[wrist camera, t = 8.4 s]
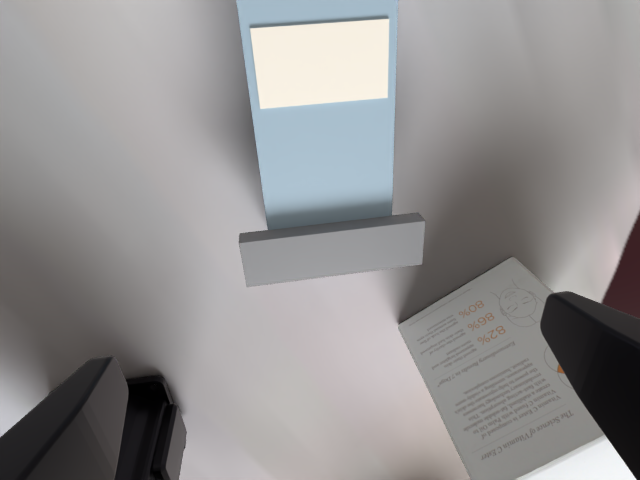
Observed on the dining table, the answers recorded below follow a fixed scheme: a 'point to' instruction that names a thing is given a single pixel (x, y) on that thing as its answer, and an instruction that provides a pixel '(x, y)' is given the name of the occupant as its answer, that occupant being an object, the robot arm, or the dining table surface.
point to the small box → (506, 384)
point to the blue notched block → (324, 139)
